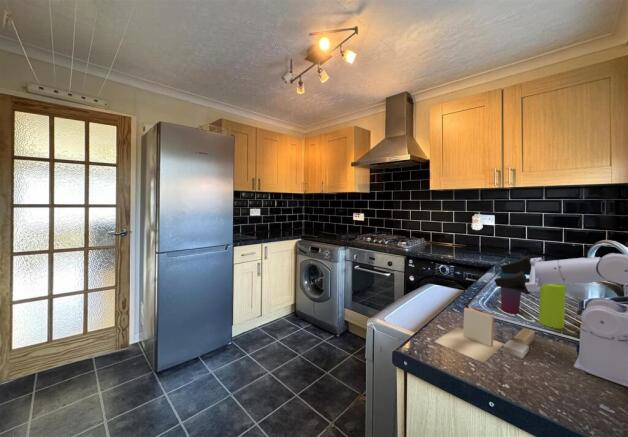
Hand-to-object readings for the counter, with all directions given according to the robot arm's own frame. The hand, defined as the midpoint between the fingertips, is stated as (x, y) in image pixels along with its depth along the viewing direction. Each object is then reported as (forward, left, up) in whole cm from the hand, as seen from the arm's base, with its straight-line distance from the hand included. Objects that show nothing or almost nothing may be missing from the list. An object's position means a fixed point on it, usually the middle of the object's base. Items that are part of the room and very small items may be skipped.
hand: (499, 275), depth 73 cm
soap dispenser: (-8, -22, -18) cm, 30 cm away
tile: (+2, +9, -17) cm, 19 cm away
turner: (-6, +2, -18) cm, 19 cm away
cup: (+4, -25, -18) cm, 31 cm away
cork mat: (+3, +12, -18) cm, 21 cm away
